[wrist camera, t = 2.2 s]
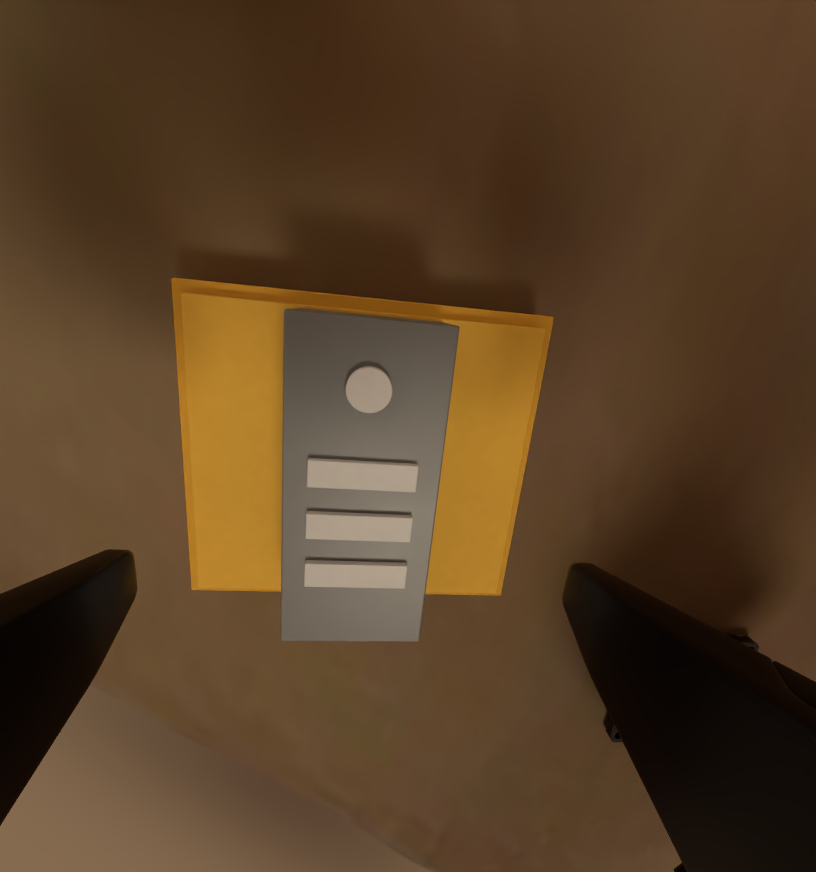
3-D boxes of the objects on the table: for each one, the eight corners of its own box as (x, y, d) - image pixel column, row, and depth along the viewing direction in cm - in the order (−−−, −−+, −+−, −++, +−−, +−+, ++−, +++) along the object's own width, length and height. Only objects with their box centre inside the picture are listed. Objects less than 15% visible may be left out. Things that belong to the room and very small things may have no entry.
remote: (411, 590, 16) (420, 648, 13) (293, 588, 16) (278, 648, 13) (442, 322, 13) (462, 326, 10) (299, 307, 13) (281, 309, 10)
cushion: (489, 572, 19) (504, 602, 17) (206, 564, 17) (186, 597, 15) (535, 315, 15) (560, 317, 13) (191, 280, 14) (164, 276, 12)
